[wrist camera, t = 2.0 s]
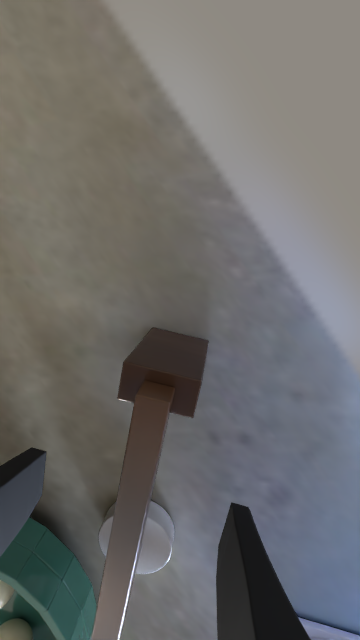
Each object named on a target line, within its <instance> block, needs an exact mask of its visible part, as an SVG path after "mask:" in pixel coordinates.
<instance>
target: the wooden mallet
mask: <svg viewBox="0 0 360 640" xmlns="http://www.w3.org/2000/svg"><path fill="white" fill-rule="evenodd" d="M208 342H209V341H208V340H204V339H200V338H195V337H191V336H187V335H183V334H178V333H174V332H170V331H166V330H161V329H157V328H152V329H151V330H150V331H149V333H148V334H147V335H146V336H145V337H144V338H143V340H142V341H141V342H140V343H139V344H138V345H137V347H136V348H135V349H134V350H133V351H132V352H131V354H130V355H129V356H128V357H127V358H126V359H125V361H124V362H123V367H122V373H121V379H120V385H119V391H118V397H117V398H118V399H119V400H123V401H127V402H131V403H134V407H133V413H132V418H131V424H130V429H129V435H128V440H127V445H126V451H125V456H124V462H123V467H122V473H121V478H120V484H119V489H118V495H117V500H116V503H114V504H113V505H112V506H111V507H110V508H109V510H108V512H107V514H106V516H105V519H104V521H103V523H102V525H101V528H100V530H99V545H100V548H101V550H102V552H103V554H104V555H105V556H106V560H105V566H104V571H103V576H102V582H101V587H100V593H99V598H98V604H97V609H96V615H95V620H94V626H93V631H92V636H91V640H120V637H121V633H122V630H123V626H124V621H125V616H126V612H127V607H128V603H129V598H130V593H131V589H132V584H133V580H134V576H135V573H136V574H147V573H152V572H155V571H157V570H159V569H161V568H162V567H163V566H164V565H165V564H166V563H167V562H168V560H169V558H170V556H171V551H172V545H173V540H174V525H173V522H172V520H171V517H170V516H169V514H168V513H167V512H166V511H165V510H164V509H163V508H162V507H161V506H160V505H158V504H156V503H155V502H153V501H151V497H152V492H153V488H154V483H155V479H156V474H157V469H158V465H159V460H160V456H161V451H162V446H163V442H164V437H165V433H166V428H167V423H168V419H169V414H170V413H174V414H178V415H182V416H186V417H189V418H193V417H194V413H195V409H196V405H197V400H198V396H199V392H200V388H201V384H202V379H203V373H204V367H205V360H206V354H207V348H208Z"/></svg>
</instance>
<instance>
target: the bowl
mask: <svg viewBox="0 0 360 640" xmlns="http://www.w3.org/2000/svg"><path fill="white" fill-rule="evenodd" d="M0 580H1V581H3V582H5V583H6V584H8V585H10V586H11V587H12V588H13V589H14V592H13V594H12V596H11V598H10V599H9V601H8V602H7V603H6V604H5V605H4V606H3V607H2V608H1V609H0V625H2V624H3V623H5V622H6V621H8V620H11V619H16V618H17V619H23V620H25V621H26V622H27V623H28V624H29V625H30V627H31V629H32V633H33V640H91V636H92V631H93V626H94V620H95V615H96V609H97V605H96V601H95V596H94V592H93V587H92V584H91V582H90V580H89V578H88V577H87V575H86V573H85V571H84V570H83V568H82V566H81V565H80V563H79V561H78V560H77V558H76V556H75V555H74V554H73V553H72V552H71V551H70V550H69V549H68V548H67V547H66V546H65V545H64V544H63V543H62V542H61V541H60V540H59V539H58V538H57V537H56V536H55V535H54V534H53V533H52V532H51V531H50V530H49V529H47V527H45V526H43V525H42V524H40V523H38V522H37V521H35V520H33V519H31V518H30V517H29V518H28V519H27V521H26V523H25V524H24V525H23V527H22V528H21V530H20V531H19V532H18V534H17V535H16V536H15V538H14V539H13V541H12V542H11V543H10V545H9V546H8V547H7V549H6V550H5V551H4V553H3V554H2V555H1V557H0Z"/></svg>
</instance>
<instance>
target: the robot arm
mask: <svg viewBox="0 0 360 640" xmlns="http://www.w3.org/2000/svg"><path fill="white" fill-rule="evenodd" d="M45 461H46V451H42V450H39V449H35V448H30V449H28V450H27V451H25V452H23V453H21V454H20V455H18V456H16V457H15V458H13V459H11V460H10V461H8V462H6V463H4V464H3V465H1V466H0V557H1V555H2V554H3V553H4V551H5V550H6V549H7V547H8V546H9V545H10V543H11V542H12V541H13V539H14V538H15V536H16V535H17V534H18V532H19V531H20V530H21V528H22V527H23V525H24V524H25V523H26V521H27V519H28V518H29V516H30V514H31V513H32V511H33V509H34V508H35V506H36V504H37V502H38V501H39V499H40V497H41V496H42V489H43V480H44V470H45ZM216 590H217V631H218V640H360V636H359V635H356V634H352V633H349V632H346V631H343V630H339V629H336V628H333V627H329V626H326V625H323V624H319V623H316V622H313V621H309V620H306V619H303V618H299V617H298V616H297V614H296V613H295V611H294V609H293V607H292V605H291V603H290V601H289V599H288V597H287V595H286V593H285V591H284V589H283V587H282V585H281V583H280V581H279V579H278V577H277V575H276V573H275V571H274V568H273V566H272V564H271V562H270V559H269V557H268V555H267V553H266V550H265V548H264V546H263V543H262V541H261V538H260V536H259V533H258V531H257V528H256V525H255V523H254V520H253V517H252V514H251V511H250V509H249V508H248V507H246V506H242V505H239V504H235V503H231V506H230V509H229V513H228V516H227V519H226V523H225V526H224V529H223V533H222V536H221V539H220V543H219V547H218V560H217V575H216Z"/></svg>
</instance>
